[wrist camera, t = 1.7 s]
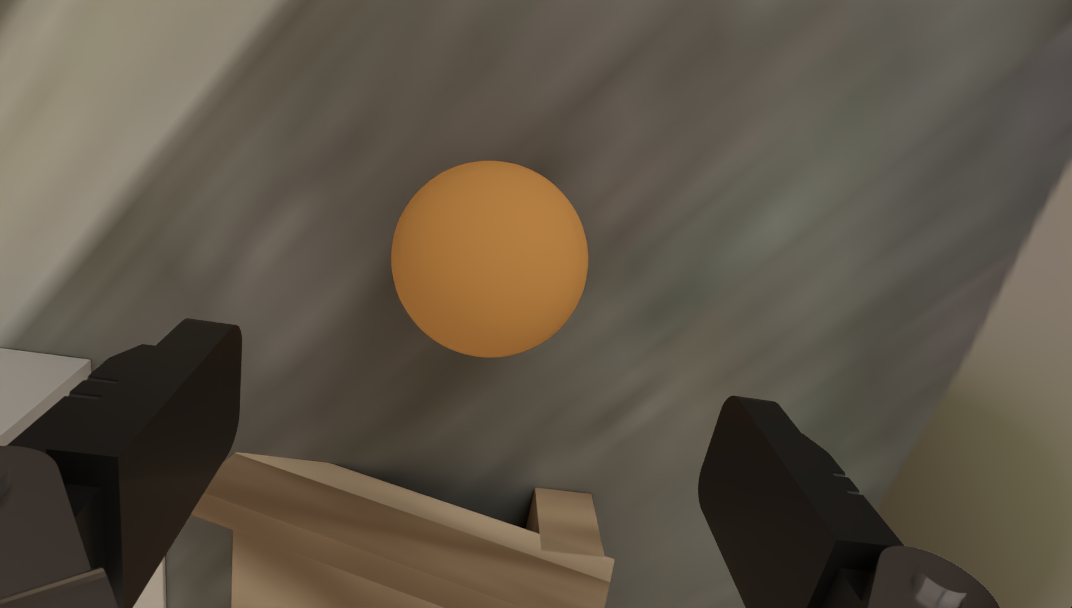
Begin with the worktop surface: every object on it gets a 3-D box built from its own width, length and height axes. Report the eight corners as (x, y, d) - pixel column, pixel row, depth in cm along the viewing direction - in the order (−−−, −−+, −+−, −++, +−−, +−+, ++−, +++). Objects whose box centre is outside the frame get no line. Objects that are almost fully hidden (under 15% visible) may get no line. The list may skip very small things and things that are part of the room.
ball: (414, 129, 18) (389, 166, 14) (592, 162, 19) (626, 207, 14) (394, 297, 20) (366, 379, 15) (557, 321, 21) (576, 407, 16)
